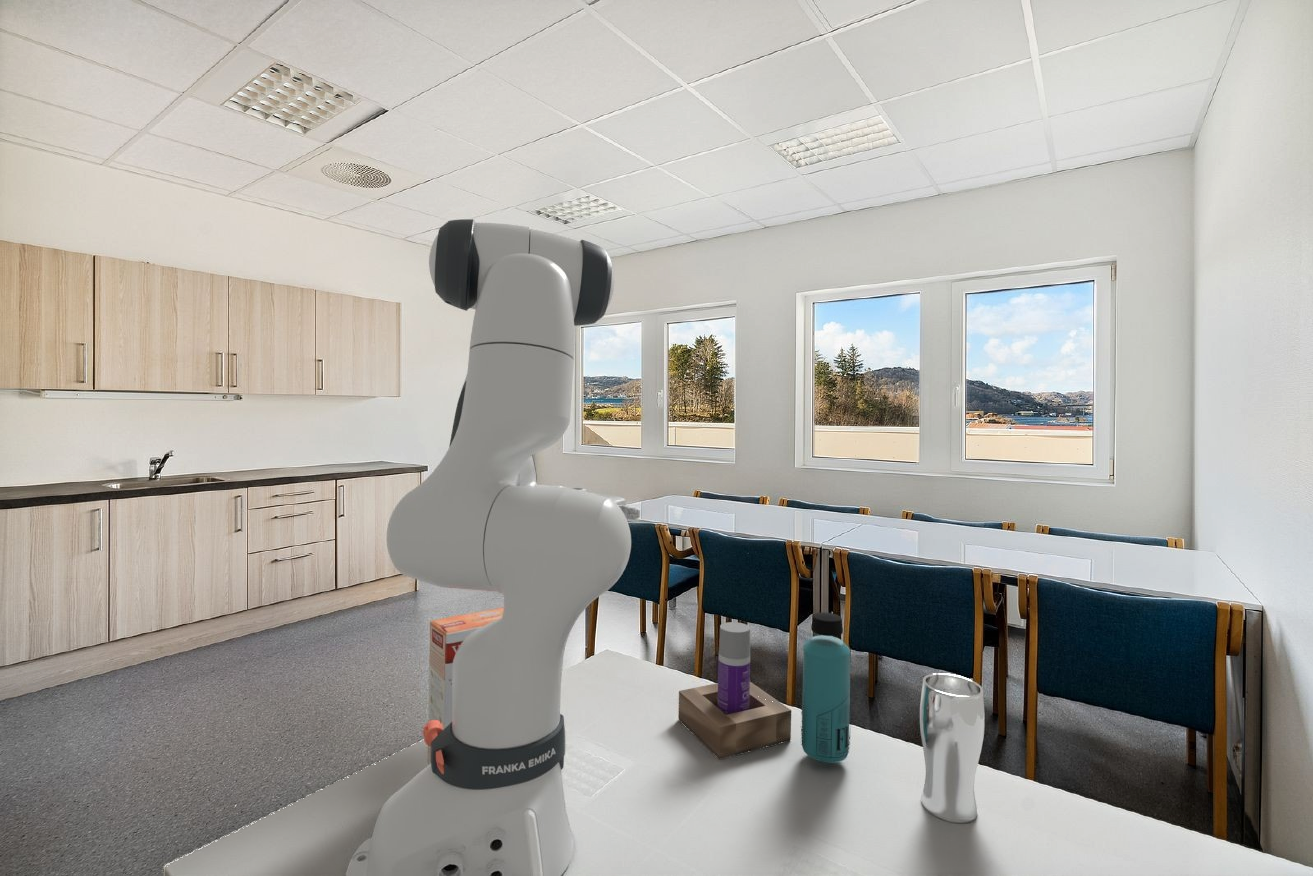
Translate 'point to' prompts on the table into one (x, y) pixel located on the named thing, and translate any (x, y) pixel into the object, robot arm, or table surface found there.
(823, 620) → the beverage bottle
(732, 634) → the container
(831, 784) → the table surface
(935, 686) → the beer glass
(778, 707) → the socket block
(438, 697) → the cracker box
